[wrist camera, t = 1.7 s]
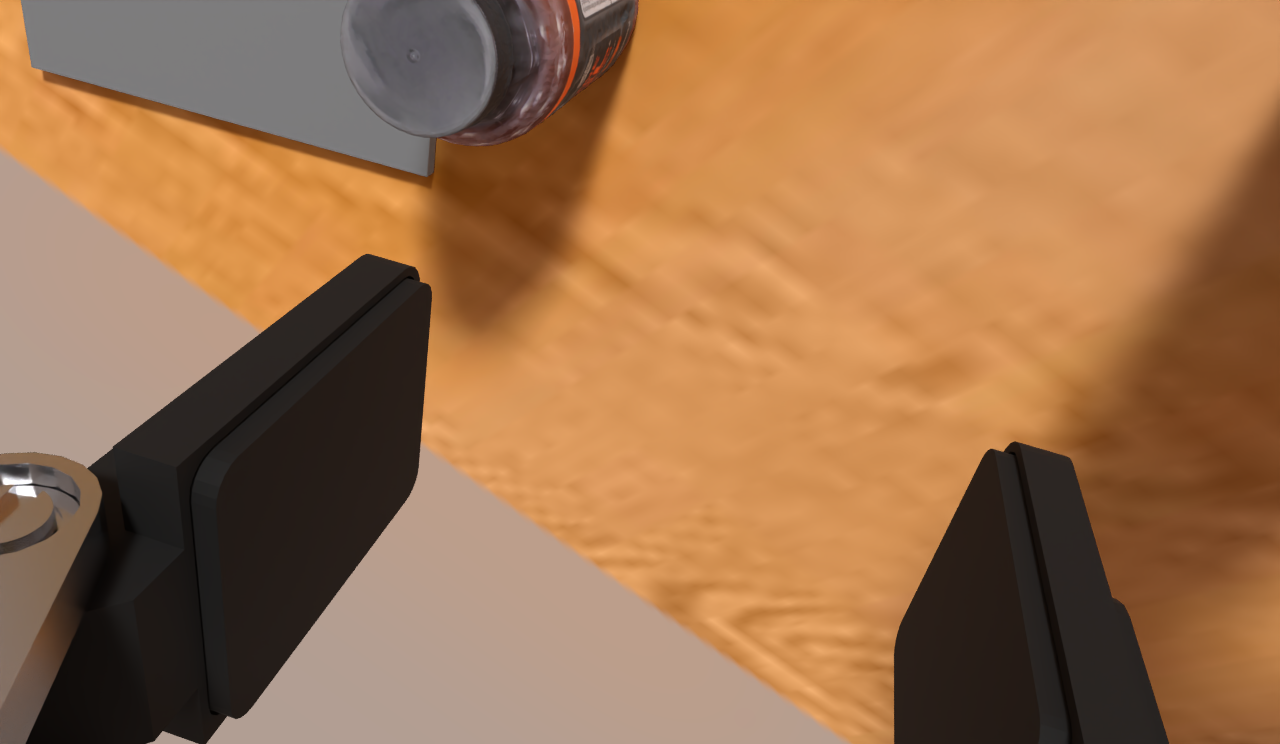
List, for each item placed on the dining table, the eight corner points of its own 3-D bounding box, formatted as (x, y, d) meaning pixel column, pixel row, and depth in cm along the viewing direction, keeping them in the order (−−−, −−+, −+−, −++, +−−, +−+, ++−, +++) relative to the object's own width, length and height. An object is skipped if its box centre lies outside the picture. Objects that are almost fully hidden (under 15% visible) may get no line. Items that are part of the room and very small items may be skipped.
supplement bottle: (557, 118, 33) (422, 226, 24) (442, -18, 32) (250, 39, 22) (680, 5, 30) (584, 77, 21) (560, -150, 29) (397, -149, 19)
